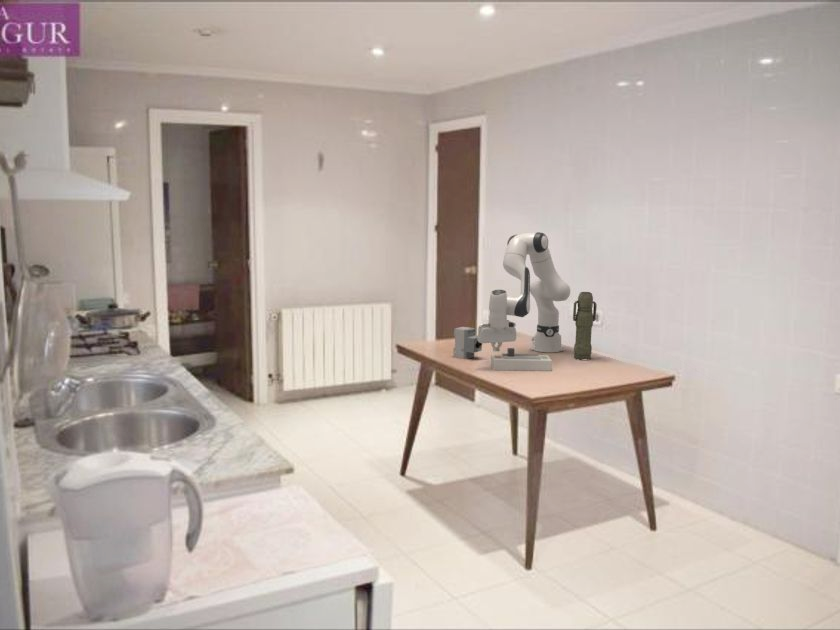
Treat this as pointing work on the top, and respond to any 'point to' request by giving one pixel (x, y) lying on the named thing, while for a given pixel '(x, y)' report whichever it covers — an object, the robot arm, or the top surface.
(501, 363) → the white slider track board
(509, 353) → the breaker toggle
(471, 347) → the circuit breaker
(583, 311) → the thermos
